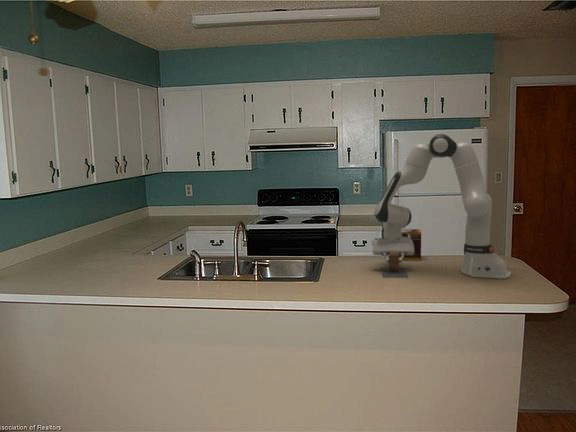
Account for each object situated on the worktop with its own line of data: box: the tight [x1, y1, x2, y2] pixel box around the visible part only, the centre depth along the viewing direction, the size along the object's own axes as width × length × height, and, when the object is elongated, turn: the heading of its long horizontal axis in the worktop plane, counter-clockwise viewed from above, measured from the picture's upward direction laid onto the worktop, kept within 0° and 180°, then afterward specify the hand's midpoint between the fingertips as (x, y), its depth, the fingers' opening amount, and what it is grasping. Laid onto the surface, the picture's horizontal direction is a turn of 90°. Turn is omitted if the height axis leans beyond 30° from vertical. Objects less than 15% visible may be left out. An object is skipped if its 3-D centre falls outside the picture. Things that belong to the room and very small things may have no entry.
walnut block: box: [388, 251, 400, 271], centre depth 255 cm, size 4×4×10 cm
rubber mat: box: [380, 266, 409, 279], centre depth 254 cm, size 20×12×1 cm, turn 173°
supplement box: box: [399, 228, 422, 262], centre depth 284 cm, size 10×15×16 cm
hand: (394, 261), depth 253 cm, fingers open, 5 cm apart
